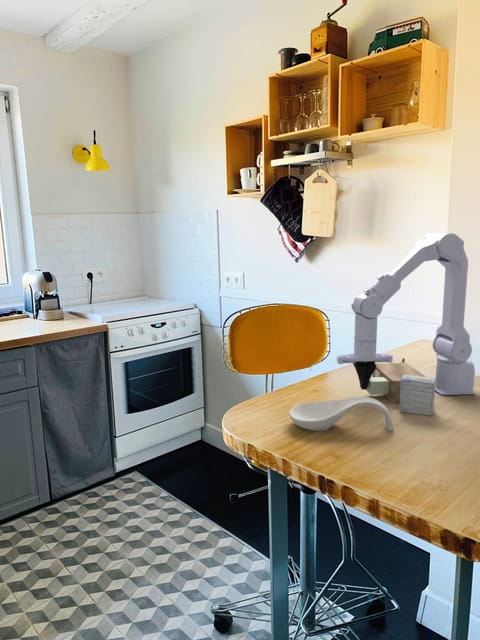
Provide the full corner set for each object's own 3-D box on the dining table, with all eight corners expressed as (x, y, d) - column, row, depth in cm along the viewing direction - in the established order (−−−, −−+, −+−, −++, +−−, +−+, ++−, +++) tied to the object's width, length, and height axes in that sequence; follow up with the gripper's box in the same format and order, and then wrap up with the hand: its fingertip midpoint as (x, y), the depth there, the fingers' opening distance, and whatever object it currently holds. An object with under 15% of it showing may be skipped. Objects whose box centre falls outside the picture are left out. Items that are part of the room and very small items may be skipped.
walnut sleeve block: (405, 381, 146) (406, 363, 145) (428, 400, 131) (430, 379, 130) (372, 382, 146) (373, 363, 145) (391, 402, 130) (392, 381, 129)
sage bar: (398, 389, 136) (398, 376, 136) (403, 393, 133) (403, 380, 132) (366, 390, 136) (366, 377, 135) (370, 394, 132) (370, 381, 132)
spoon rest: (289, 436, 111) (289, 405, 110) (288, 416, 122) (289, 388, 121) (397, 439, 109) (398, 408, 107) (386, 418, 120) (387, 390, 119)
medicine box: (433, 410, 124) (436, 377, 123) (432, 416, 120) (434, 382, 119) (401, 406, 127) (402, 373, 126) (398, 412, 123) (400, 378, 122)
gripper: (386, 335, 135) (384, 382, 138) (334, 336, 135) (333, 384, 137) (396, 341, 128) (393, 391, 131) (341, 343, 128) (340, 393, 130)
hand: (363, 388), depth 134 cm, fingers closed
